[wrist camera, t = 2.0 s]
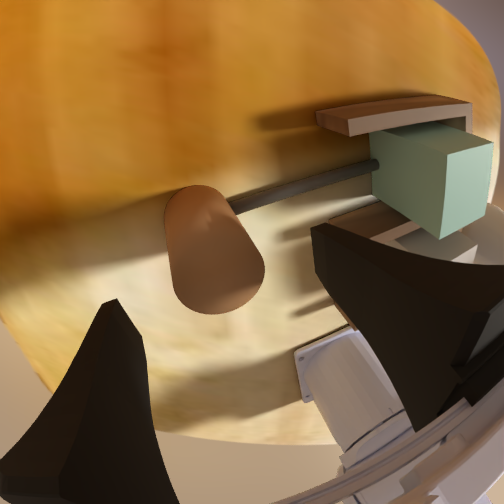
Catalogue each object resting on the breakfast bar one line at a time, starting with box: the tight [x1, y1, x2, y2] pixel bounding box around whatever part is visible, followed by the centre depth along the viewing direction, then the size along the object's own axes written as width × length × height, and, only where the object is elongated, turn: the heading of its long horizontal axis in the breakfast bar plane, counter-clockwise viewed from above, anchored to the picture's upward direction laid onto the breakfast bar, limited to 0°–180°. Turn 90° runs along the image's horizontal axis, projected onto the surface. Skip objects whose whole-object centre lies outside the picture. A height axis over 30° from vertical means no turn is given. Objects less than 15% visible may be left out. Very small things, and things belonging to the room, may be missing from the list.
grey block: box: [385, 227, 478, 264], centre depth 19 cm, size 4×4×6 cm
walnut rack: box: [315, 95, 472, 331], centre depth 18 cm, size 14×10×3 cm
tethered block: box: [164, 121, 494, 314], centre depth 14 cm, size 4×17×6 cm, turn 103°
